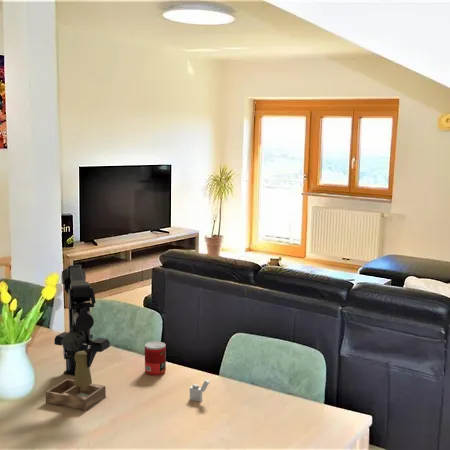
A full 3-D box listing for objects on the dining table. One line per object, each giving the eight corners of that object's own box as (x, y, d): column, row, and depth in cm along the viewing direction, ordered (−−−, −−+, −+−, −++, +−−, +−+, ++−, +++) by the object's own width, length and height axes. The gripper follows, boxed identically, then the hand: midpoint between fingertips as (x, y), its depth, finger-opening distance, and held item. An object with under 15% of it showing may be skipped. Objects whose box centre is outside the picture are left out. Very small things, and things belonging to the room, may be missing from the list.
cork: (87, 387, 205) (86, 355, 203) (70, 385, 206) (69, 354, 204) (95, 380, 210) (94, 349, 209) (78, 378, 212) (77, 348, 210)
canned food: (164, 376, 231) (164, 348, 230) (143, 375, 231) (143, 347, 230) (166, 368, 239) (166, 341, 237) (146, 368, 239) (146, 340, 237)
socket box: (45, 402, 208) (45, 391, 207) (67, 389, 219) (67, 378, 218) (85, 411, 202) (85, 399, 201) (105, 397, 213) (105, 386, 212)
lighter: (189, 399, 211) (189, 377, 210) (191, 397, 213) (191, 375, 212) (207, 403, 208) (208, 381, 207) (210, 401, 210) (210, 379, 209)
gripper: (42, 324, 201) (44, 370, 203) (91, 332, 194) (92, 379, 196) (63, 315, 211) (65, 358, 214) (110, 322, 204) (111, 367, 207)
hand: (82, 366), depth 207 cm, fingers closed on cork, 5 cm apart
